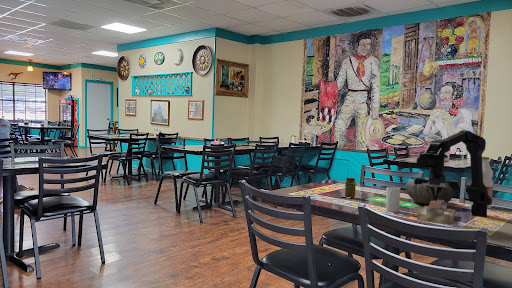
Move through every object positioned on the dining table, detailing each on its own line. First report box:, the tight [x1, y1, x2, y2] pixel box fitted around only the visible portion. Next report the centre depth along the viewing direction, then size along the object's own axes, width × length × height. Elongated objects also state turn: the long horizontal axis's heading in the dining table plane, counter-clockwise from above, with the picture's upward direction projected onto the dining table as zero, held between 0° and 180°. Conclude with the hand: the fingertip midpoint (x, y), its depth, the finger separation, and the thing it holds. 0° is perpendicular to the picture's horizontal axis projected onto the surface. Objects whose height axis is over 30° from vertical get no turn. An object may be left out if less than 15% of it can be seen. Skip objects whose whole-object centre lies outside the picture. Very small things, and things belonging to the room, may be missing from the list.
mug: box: [385, 186, 401, 213], centre depth 189 cm, size 10×7×12 cm, turn 145°
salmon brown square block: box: [429, 201, 441, 209], centre depth 173 cm, size 4×4×3 cm
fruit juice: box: [471, 156, 494, 209], centre depth 205 cm, size 9×9×28 cm
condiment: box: [344, 177, 357, 198], centre depth 223 cm, size 7×8×12 cm
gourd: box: [405, 177, 454, 206], centre depth 212 cm, size 25×25×17 cm
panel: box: [416, 203, 456, 225], centre depth 178 cm, size 14×20×6 cm
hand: (435, 200), depth 173 cm, fingers closed
